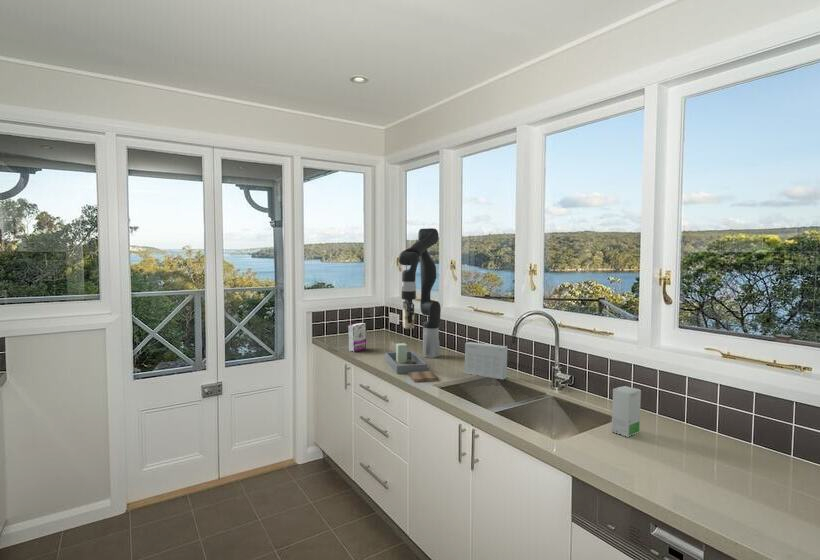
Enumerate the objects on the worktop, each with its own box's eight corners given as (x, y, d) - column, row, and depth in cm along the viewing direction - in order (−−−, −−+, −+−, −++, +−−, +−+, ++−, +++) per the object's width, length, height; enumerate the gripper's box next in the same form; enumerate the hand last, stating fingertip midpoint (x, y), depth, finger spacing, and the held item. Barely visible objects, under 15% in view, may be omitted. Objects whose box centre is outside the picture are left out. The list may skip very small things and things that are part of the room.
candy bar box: (360, 348, 291) (360, 322, 290) (366, 349, 288) (366, 323, 287) (348, 351, 282) (348, 324, 281) (353, 352, 279) (353, 325, 278)
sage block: (404, 360, 260) (404, 343, 260) (406, 362, 255) (406, 345, 255) (396, 361, 259) (396, 343, 258) (398, 363, 254) (398, 345, 253)
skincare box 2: (627, 438, 156) (629, 393, 155) (609, 431, 162) (611, 388, 161) (640, 432, 161) (642, 389, 160) (622, 426, 167) (624, 384, 166)
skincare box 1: (507, 377, 228) (508, 346, 227) (503, 380, 224) (504, 348, 223) (468, 371, 239) (468, 341, 238) (463, 373, 234) (464, 343, 233)
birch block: (412, 326, 244) (412, 307, 243) (414, 328, 239) (414, 309, 239) (402, 326, 243) (402, 308, 242) (404, 328, 238) (405, 309, 237)
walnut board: (430, 373, 233) (431, 370, 233) (438, 380, 222) (438, 377, 222) (408, 375, 230) (408, 372, 230) (414, 382, 219) (414, 379, 219)
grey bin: (411, 358, 266) (411, 351, 266) (426, 371, 237) (426, 364, 237) (384, 359, 262) (384, 352, 262) (396, 373, 233) (396, 366, 233)
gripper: (419, 291, 234) (419, 324, 235) (412, 288, 248) (411, 319, 249) (405, 291, 232) (404, 324, 233) (398, 288, 246) (398, 320, 247)
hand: (408, 322), depth 241 cm, fingers closed on birch block, 5 cm apart
